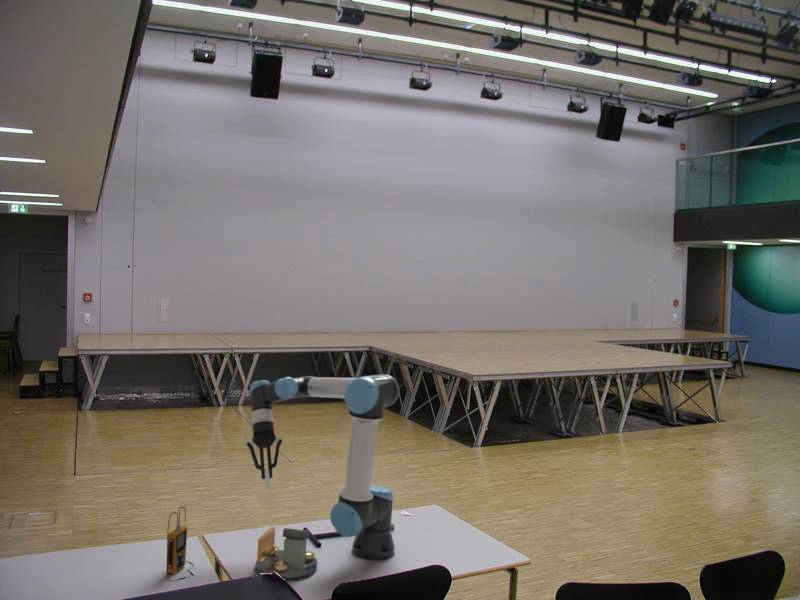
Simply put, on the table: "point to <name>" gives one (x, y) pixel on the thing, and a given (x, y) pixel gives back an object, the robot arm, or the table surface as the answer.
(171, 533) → the multimeter
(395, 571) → the table surface
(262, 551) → the lever
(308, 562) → the tribrach plate
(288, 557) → the wedge with rod handle
